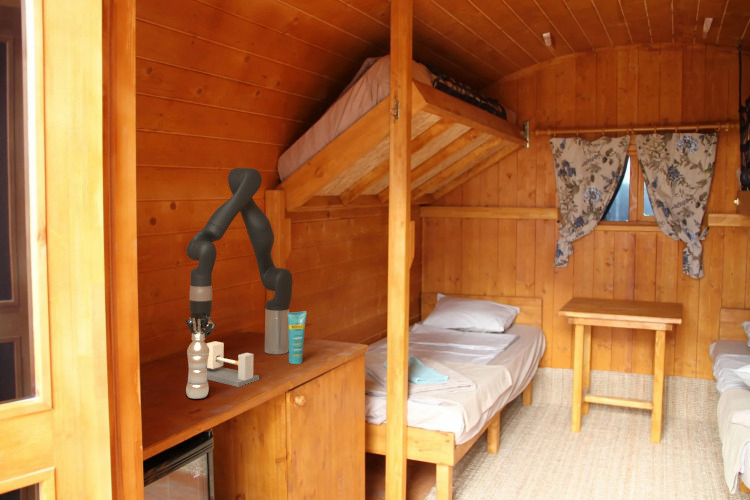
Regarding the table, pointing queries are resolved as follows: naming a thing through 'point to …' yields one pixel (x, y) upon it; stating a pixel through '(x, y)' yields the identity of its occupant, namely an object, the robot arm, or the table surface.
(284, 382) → the table surface
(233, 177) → the robot arm
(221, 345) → the sleeve
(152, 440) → the table surface
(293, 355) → the tube
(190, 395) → the plastic bottle
